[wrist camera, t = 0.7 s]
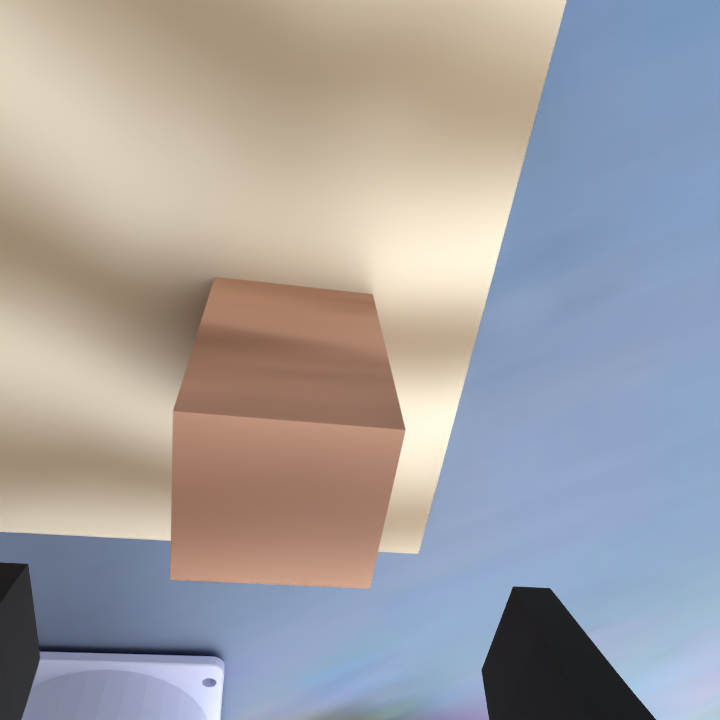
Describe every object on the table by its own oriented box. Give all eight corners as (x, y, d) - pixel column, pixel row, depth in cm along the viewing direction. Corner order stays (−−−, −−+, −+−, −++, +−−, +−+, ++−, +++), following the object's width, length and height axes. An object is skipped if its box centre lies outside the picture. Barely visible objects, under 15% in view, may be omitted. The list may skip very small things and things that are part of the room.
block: (350, 422, 18) (369, 588, 13) (208, 410, 18) (170, 579, 13) (372, 294, 17) (405, 429, 11) (214, 276, 16) (172, 411, 11)
